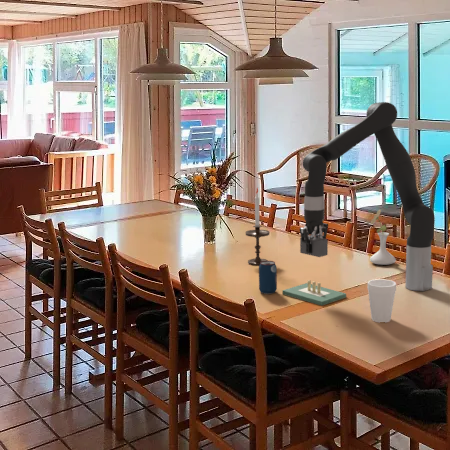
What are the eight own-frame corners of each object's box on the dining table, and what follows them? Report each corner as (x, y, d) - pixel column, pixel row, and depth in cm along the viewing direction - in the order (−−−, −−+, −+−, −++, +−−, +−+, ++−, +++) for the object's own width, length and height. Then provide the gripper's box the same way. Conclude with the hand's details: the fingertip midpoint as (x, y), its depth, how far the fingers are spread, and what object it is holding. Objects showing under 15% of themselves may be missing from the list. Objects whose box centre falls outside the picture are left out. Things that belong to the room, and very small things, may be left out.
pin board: (346, 297, 257) (346, 283, 256) (321, 305, 248) (321, 291, 247) (306, 286, 272) (306, 273, 270) (282, 294, 263) (282, 280, 261)
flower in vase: (380, 259, 311) (381, 205, 306) (400, 263, 302) (402, 208, 297) (362, 264, 303) (362, 209, 298) (382, 269, 294) (384, 212, 289)
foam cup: (361, 319, 232) (362, 283, 229) (376, 313, 238) (377, 277, 236) (385, 326, 225) (386, 288, 223) (400, 319, 232) (401, 282, 229)
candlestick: (258, 258, 317) (257, 184, 310) (274, 262, 309) (273, 186, 302) (241, 262, 310) (239, 187, 303) (257, 267, 302) (256, 189, 295)
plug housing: (327, 255, 254) (327, 239, 253) (319, 257, 251) (319, 241, 250) (308, 250, 261) (308, 235, 260) (300, 252, 259) (300, 237, 257)
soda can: (280, 292, 264) (280, 262, 262) (265, 295, 261) (264, 265, 259) (270, 288, 270) (270, 259, 268) (255, 291, 267) (255, 261, 265)
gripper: (308, 211, 245) (308, 257, 249) (334, 206, 255) (333, 250, 258) (293, 209, 251) (293, 253, 254) (319, 204, 260) (319, 247, 264)
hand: (314, 251), depth 256 cm, fingers closed on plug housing, 4 cm apart
